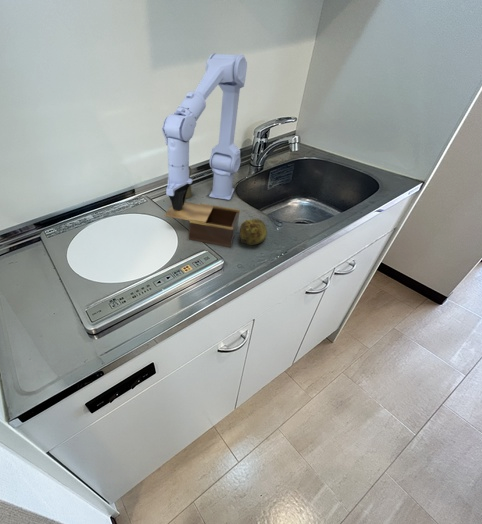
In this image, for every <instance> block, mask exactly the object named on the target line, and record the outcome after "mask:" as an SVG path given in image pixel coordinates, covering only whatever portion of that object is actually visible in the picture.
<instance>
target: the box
mask: <svg viewBox="0 0 482 524" xmlns="http://www.w3.org/2000/svg"><path fill="white" fill-rule="evenodd" d="M199 204H200V205H207V206H213V210H212V212H211V214H210V216H209V217H208V219H207V221H206V223H204V222H198V221H192V220H190V221H189V227H188V229H189V230H188V231H189V232H188V236H189V237H188V240H190V241H195V242H200V243H205V244H210V245H214V246H215V245H216V246H220V247H225V248H231V247H232V244H233V241H234V239H235V235H236V233H237V230H238V227H239V226H238V224H239V218H240V213H241V211H240V210H241V209H238V208H231V207H225V206H219V205H213V204H205V203H199Z"/></svg>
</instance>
